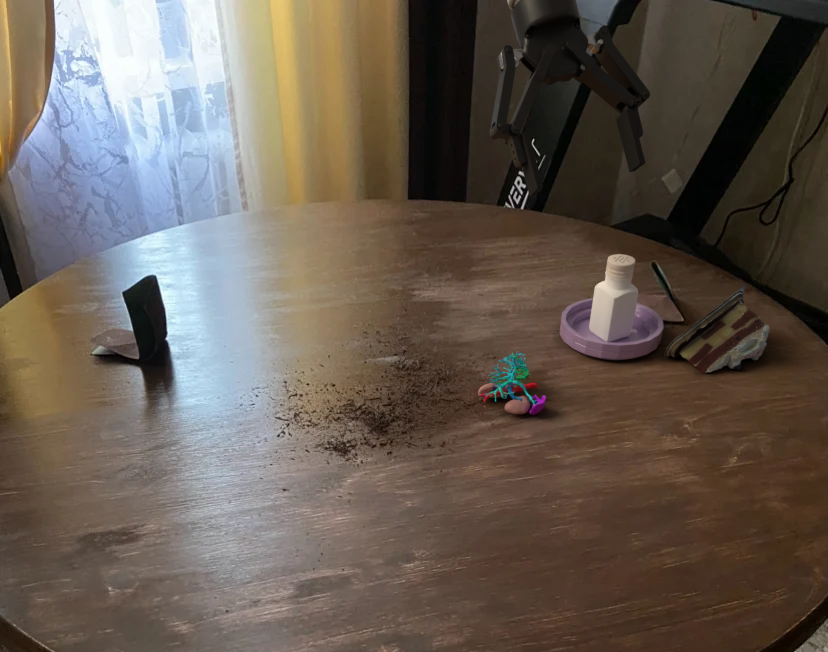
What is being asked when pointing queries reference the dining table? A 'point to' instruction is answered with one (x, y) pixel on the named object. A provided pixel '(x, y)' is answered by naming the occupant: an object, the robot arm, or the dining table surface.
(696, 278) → the dining table surface
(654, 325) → the dish
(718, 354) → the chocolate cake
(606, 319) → the pepper shaker
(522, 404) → the anatomy model
